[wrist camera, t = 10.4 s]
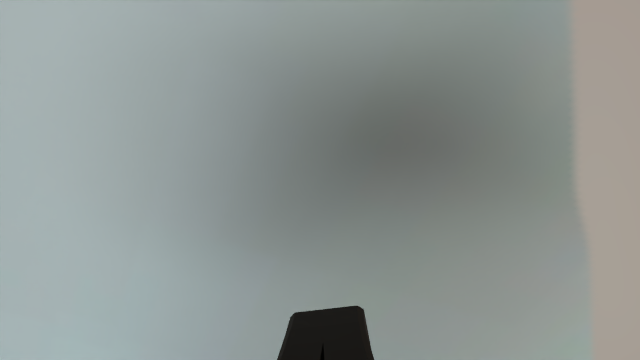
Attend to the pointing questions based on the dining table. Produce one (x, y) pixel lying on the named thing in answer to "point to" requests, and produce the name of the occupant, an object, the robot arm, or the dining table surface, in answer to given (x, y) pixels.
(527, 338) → the dining table surface
